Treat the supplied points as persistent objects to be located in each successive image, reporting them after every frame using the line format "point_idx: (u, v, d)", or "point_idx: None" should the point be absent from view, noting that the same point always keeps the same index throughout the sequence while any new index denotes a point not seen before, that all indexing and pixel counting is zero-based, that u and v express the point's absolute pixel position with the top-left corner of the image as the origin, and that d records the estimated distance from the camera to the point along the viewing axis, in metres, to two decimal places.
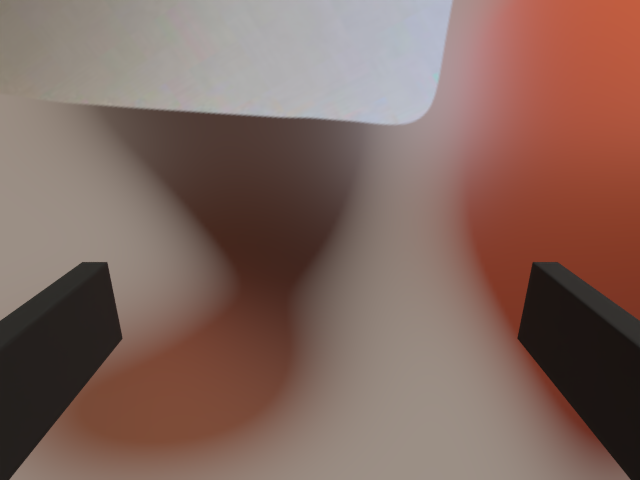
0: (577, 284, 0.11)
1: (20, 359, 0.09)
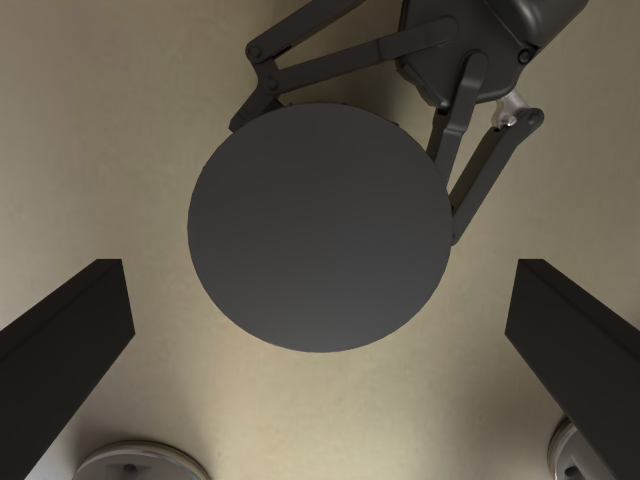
0: (560, 280, 0.11)
1: (42, 352, 0.09)
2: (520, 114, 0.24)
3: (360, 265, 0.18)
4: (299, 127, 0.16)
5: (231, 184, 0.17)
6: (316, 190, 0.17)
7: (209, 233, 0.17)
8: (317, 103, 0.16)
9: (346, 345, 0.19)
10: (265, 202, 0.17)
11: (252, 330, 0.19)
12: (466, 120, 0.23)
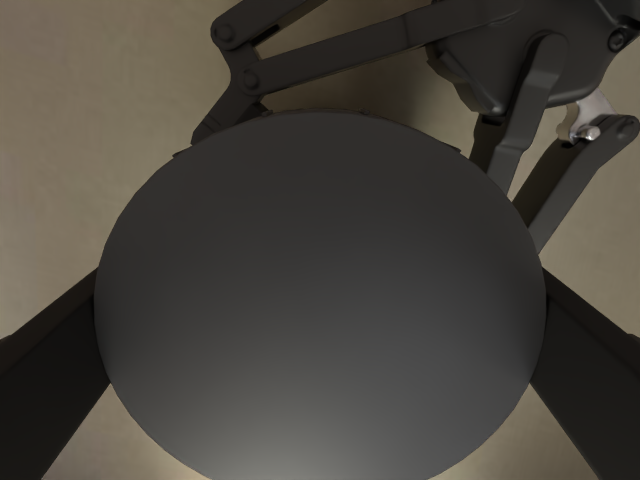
0: (543, 276, 0.11)
1: (65, 345, 0.09)
2: (603, 124, 0.17)
3: (387, 380, 0.11)
4: (282, 156, 0.09)
5: (164, 253, 0.10)
6: (313, 263, 0.10)
7: (132, 332, 0.10)
8: (315, 113, 0.08)
9: None
10: (225, 282, 0.10)
11: (211, 473, 0.12)
12: (530, 133, 0.16)
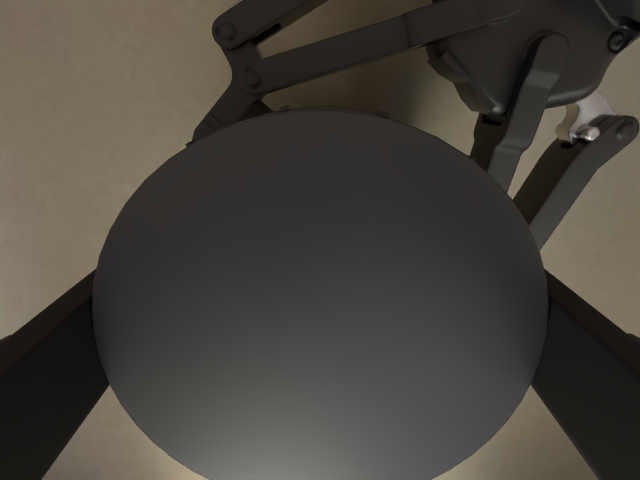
0: None
1: (65, 345, 0.09)
2: (602, 124, 0.17)
3: (340, 272, 0.10)
4: (163, 416, 0.11)
5: (277, 469, 0.12)
6: (239, 373, 0.11)
7: (358, 479, 0.12)
8: (123, 403, 0.11)
9: (521, 240, 0.09)
10: (285, 428, 0.11)
11: (514, 397, 0.11)
12: (530, 133, 0.16)
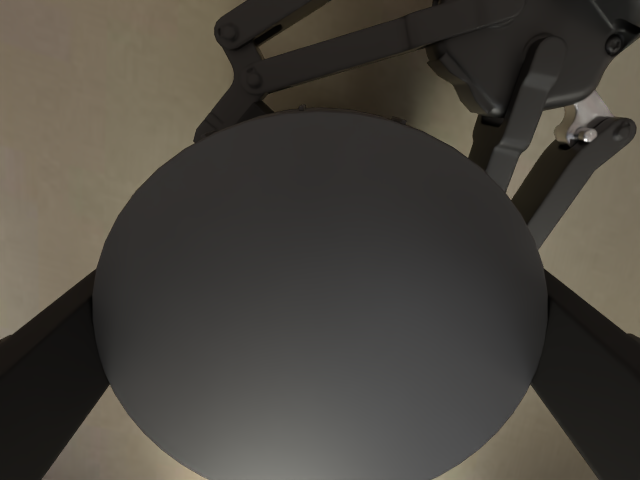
0: None
1: (65, 345, 0.09)
2: (600, 126, 0.17)
3: (238, 352, 0.10)
4: (443, 446, 0.12)
5: (494, 340, 0.10)
6: (375, 400, 0.11)
7: (493, 254, 0.09)
8: (438, 474, 0.12)
9: (134, 215, 0.09)
10: (432, 348, 0.10)
11: (314, 123, 0.08)
12: (528, 134, 0.17)
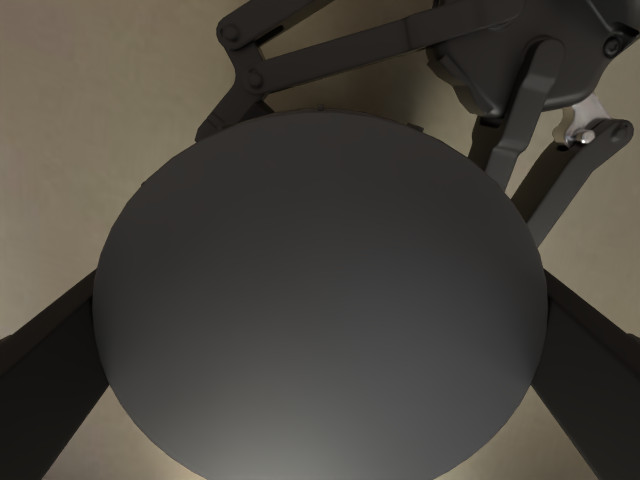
0: None
1: (65, 345, 0.09)
2: (598, 128, 0.18)
3: (350, 407, 0.11)
4: (415, 175, 0.09)
5: (249, 185, 0.09)
6: (369, 277, 0.10)
7: (159, 234, 0.09)
8: (467, 159, 0.09)
9: None
10: (283, 245, 0.09)
11: (129, 404, 0.11)
12: (527, 135, 0.17)
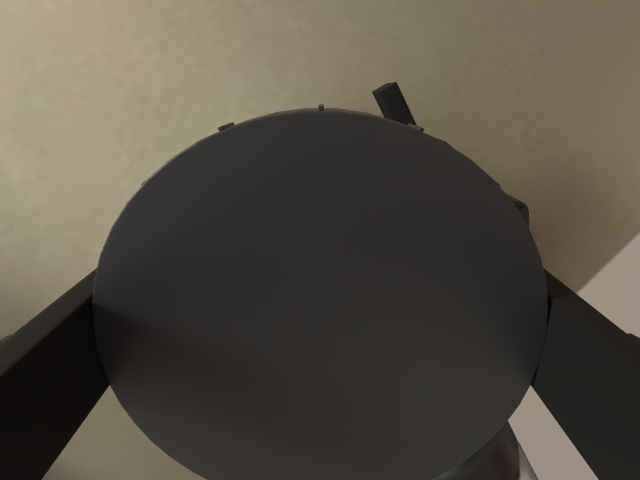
0: None
1: (65, 345, 0.09)
2: None
3: (350, 406, 0.11)
4: (416, 175, 0.09)
5: (249, 185, 0.09)
6: (369, 277, 0.10)
7: (159, 233, 0.09)
8: (467, 160, 0.09)
9: None
10: (284, 245, 0.09)
11: (129, 403, 0.11)
12: None
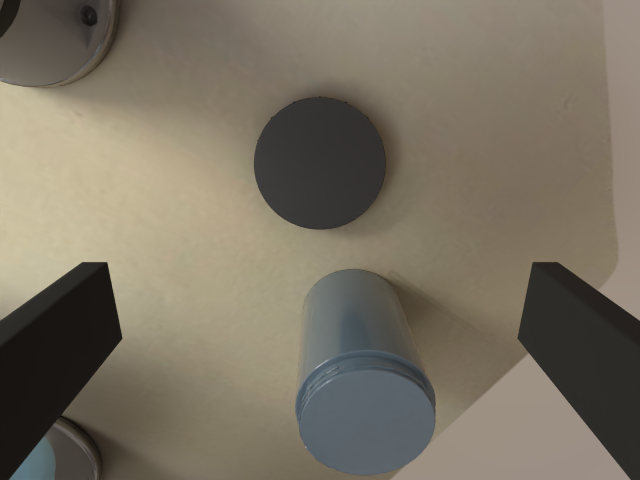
0: (577, 284, 0.11)
1: (20, 359, 0.09)
2: None
3: (329, 189, 0.36)
4: (344, 114, 0.34)
5: (301, 117, 0.34)
6: (333, 144, 0.35)
7: (276, 131, 0.34)
8: (357, 110, 0.34)
9: (298, 222, 0.37)
10: (309, 134, 0.34)
11: (261, 188, 0.36)
12: None
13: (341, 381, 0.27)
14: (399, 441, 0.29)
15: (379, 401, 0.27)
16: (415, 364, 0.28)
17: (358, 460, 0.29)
